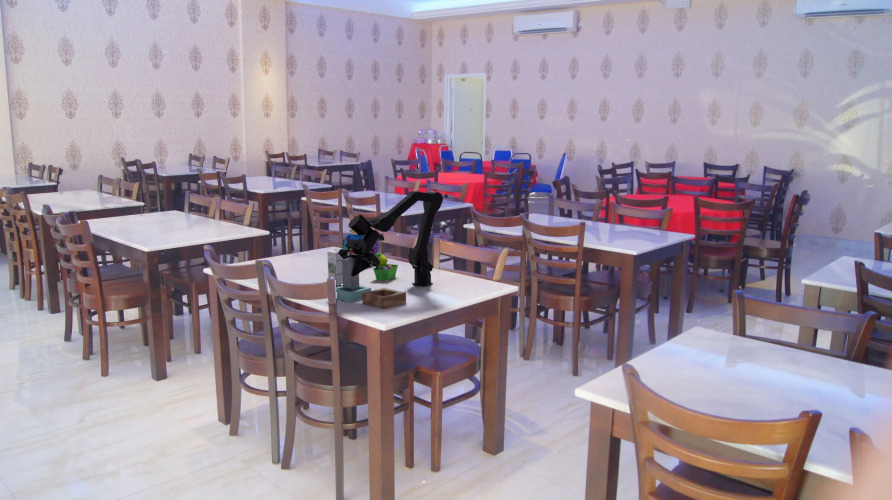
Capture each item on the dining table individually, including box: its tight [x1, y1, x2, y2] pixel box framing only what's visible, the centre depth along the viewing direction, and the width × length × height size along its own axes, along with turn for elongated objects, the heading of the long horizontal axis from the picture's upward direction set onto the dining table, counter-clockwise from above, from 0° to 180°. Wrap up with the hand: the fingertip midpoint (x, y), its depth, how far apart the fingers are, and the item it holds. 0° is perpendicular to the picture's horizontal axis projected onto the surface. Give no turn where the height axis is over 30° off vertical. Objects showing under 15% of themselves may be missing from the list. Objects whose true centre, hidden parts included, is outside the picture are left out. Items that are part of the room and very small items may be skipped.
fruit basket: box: [372, 252, 399, 282], centre depth 299 cm, size 11×9×11 cm
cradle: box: [335, 284, 372, 303], centre depth 267 cm, size 13×13×3 cm
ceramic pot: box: [341, 230, 381, 254], centre depth 333 cm, size 18×18×15 cm
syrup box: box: [326, 248, 343, 286], centre depth 287 cm, size 6×6×14 cm
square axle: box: [342, 258, 360, 292], centre depth 266 cm, size 4×4×13 cm
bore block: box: [362, 287, 407, 310], centre depth 257 cm, size 12×12×4 cm
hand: (348, 275), depth 265 cm, fingers closed on square axle, 4 cm apart
